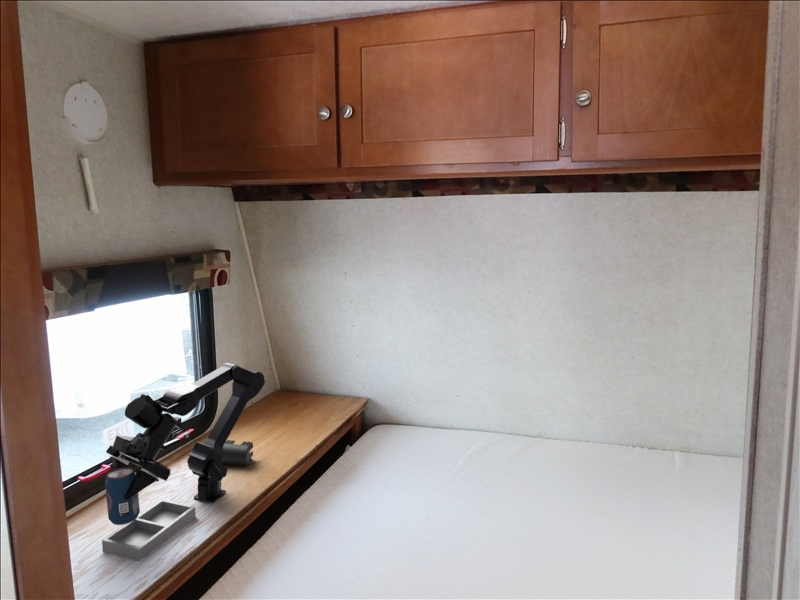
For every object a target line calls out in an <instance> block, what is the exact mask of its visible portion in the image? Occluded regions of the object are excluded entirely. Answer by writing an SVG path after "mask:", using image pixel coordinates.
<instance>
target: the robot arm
mask: <svg viewBox="0 0 800 600" xmlns="http://www.w3.org/2000/svg"><path fill="white" fill-rule="evenodd" d="M231 381H232V385H231V386H232V387H231V388H232V390H231V396H230V398H229V399H228V401H227V402H226V405H225V406H224V408H223V410H222V411H221V413H220V415H219V417H218V418H217V420H216V422H215V423H214V425H213V427H212V429H211V430H210V432H209V434H208V436H207V438H206V439H205V440H204V441H202V442H199V441H196V442H195V444H194V445H193V448H192V449H191V451H190V452H189V453H188V454H187V455H188V458H187V462H186V463H187V467H188V469H189V470H190V471H191V472H192V474H193V475H195V476H198V478H197V493H196V494H195V495H194V496H193V499H195V500H198V501H199V500H200V501H202V502H203V501H204V502H207V503H214V502H216V501H217V500H218V499H220V498H221V497H222V496H223V495H225V494H226V493H227V490H225V489H223V488H222V480H223V478H225V477H227V474H228V469H229V468H227V467H226V466H225V465H224V464H220V463H221V461H222V458H223V446H224V444H225V442H226V441H227V440H228V438H229V437H230V434H231V433H232V430H233V429H234V427H235V425H236V423H237V421H239V418H240V416H241V414H242V412H243V411H244V409H245V408H246V405H247V403H248V402H249V401H251V400H253V399H254V398H255V397H256V396H257V395H259V394H260V392H261V390H262V389H263V387H264V386H265V383H266V381H265V376H264V374H263V373H262V372H261V371H257V370H253V369H249V368H244V367H241V366H239V365H237V364H234V363H230V362H226V363H225V362H224V363H223V364H222V365H221V366H220V367H218V368H216V369H215V370H213V371H211V372H209V373H208V374H206V375H204V376H203V377H201V378H200V379H197V380H196V381H194V382H192V383H190V384H188V385H183V386H177V387H174V388H172V389H170V390H167V391H166V392H165V393H164V394H163V395H161V396H159V397H157V398H155V399H153V398H152V397H151V396H150V395H148V394H146V393H142V394H141V395H140V396H139V397H136V398H134V399H133V400H132V401H131V402H128V404H127V405H126V407H125V408H124V409H125V410H124V416H125V417H126V418H127V419H129V420H130V421H132V422H134V423H135V424H136V425H138V426H139V427H141V428H142V429H145V431H144V432H143V433H142V432H138V433H137V434H136V435H135V436H134V437H133V436H127V435H126V436H125V435H116V436H115V439H114V442H113V443H112V444H110V445H109V447H108V448H107V450H106V451H105V453H107V454H108V455H109V459H110V460H111V463H112V467H111V471H113V470H115V469H119V468H132V469H133V467H131V466H130V465H131V464H134V465H136V466H138V467H141V468H142V469H140V468H138V467H136V468H135V474H136V477H135V479H134V480H133V482H132V484H131V485H130V487H129V489H128V491H127V492H126V494H125V497H124V498H125V499H127V500H128V499H130V498H131V497H133V496H134V495H135V494H137V493H138V494H139V493H140V492H141V491H142V490H144V489H146V488H147V487H149V486H150V485H152V484H154V483H155V482H159V481H160V480H163V481H165V482H167V480H168V478H170V476H171V468H169V467H167V466H166V465H164V464H162V463H161V462H160V461H157V460H156V457H157V455H158V454H159V453H160V451H161V450H162V451H165V450H166V448H167V446H166V445H165V443H166V442H167V440H168V439H169V437H170V435H171V434H172V433H173V431H174V430H175V428H177V429H180V430H182V429H183V427H184V426H183V423H182V418H181V417H185V416H187V415H189V413H191V412H192V411H193V410H194V409H196V408H197V407H198V405H199V403H200V401H201V400H203V398H205V397H207V396H209V395H210V394H212V393H214V392H215V391H216V390H219V389H220V388H221V387H223V386H225V385H227V384H228V383H230V382H231ZM163 412H164V413H163ZM173 415H178V416H180V417H178V416H173Z"/></svg>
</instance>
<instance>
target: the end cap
mask: <svg viewBox="0 0 800 600" xmlns="http://www.w3.org/2000/svg"><path fill="white" fill-rule="evenodd" d="M235 443H236V440H231V439H227V440H226V442H225V444H224V446H223V458H222V461H221V463H220V464H221V465H233V466H242V465H244V466H243V467H245V466H246V467H247V466H249V465H250V464H251V463H252V462H253V456H254V451H253V450H252V449H253V448H254V443H253V442H252V441H243V442H241V444H235ZM251 461H252V462H251ZM250 462H251V463H250Z"/></svg>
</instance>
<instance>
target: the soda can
mask: <svg viewBox="0 0 800 600" xmlns="http://www.w3.org/2000/svg"><path fill="white" fill-rule="evenodd" d="M135 477H136V472H134V469H133V467H132V468H119V469H115V470H113V471H112V470H111V471H108V473H107V474H106V479H105V481H104V483H105V485H104V486H105V496H106V505H107V506H106V507H107V508H106V509H107V515H108V517H107V518H108V520H109V521H110V523H112V524H113V525H115V526H123V525H125V524H128V523H131V522H133V521H134V520H136V518H137V517H138V515H140V511H141V510H140V499H139V498H140V497H139V492H138V493H137V494H135V495H134V496H133V497H131V498H130V499H128V500H127V499H125V498H124V497H125V494H126V492H127V491H128V489H129V487H130V485H131V484H132V482H133V480H134V479H135Z"/></svg>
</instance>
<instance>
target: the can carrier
mask: <svg viewBox="0 0 800 600" xmlns="http://www.w3.org/2000/svg"><path fill="white" fill-rule="evenodd" d="M195 518H197V517H196V506H193V505H190V504H185V503H182V502H177V501H176V502H175V501H173V500H167V499H160V500H159V501H157V502H156V503H154V504H153V505H151V506H150V507H148V508H147V509H145V510H144V511H142V512H141V513H139V515H138V517H137V518H136V520H134V521H133V522H131V523H128V524H124V525H121V527H119V528H118V529H116V530H115V531H113V532H111V533H110V534H109V535H107V536H106V537H105V538H103V539H101V543H102V547H101V548H102V553H106V554H110V555H114V556H117V557H122V558H125V559H129V560H132V561H137V562H141V561H142V560H143V559H145V557H147V556H149V554H151V553H152V552H153V551H154V550H156V549H158V547H160V546H161V545H163V543H165V542H166V541H167V540H170V538H172V537H173V536H174V535H176V533H178V532H179V531H180V530H181V529H183V528H184V527H186V525H188V524H189V523H191V521H193V520H194V519H195Z"/></svg>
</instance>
